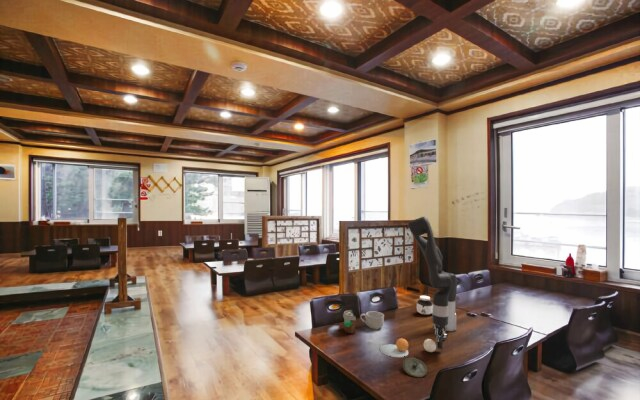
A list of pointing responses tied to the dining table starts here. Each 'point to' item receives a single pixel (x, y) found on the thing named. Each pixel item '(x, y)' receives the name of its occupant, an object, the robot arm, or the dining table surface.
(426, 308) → the spread jar
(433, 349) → the cue ball
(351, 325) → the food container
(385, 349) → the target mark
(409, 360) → the lid
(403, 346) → the object ball
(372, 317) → the teacup
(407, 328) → the dining table surface
